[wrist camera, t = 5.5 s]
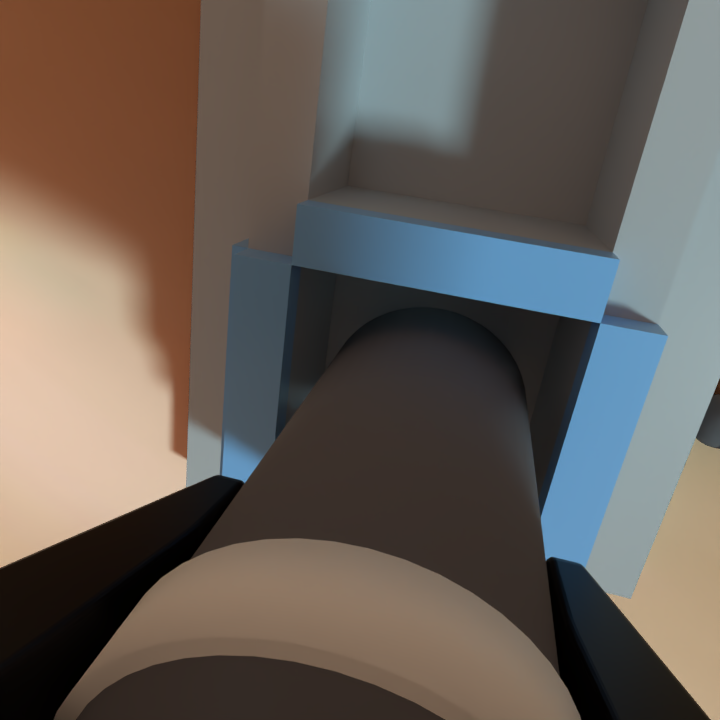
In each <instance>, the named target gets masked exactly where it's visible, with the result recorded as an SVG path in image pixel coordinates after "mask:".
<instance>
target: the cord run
mask: <svg viewBox="0 0 720 720" xmlns="http://www.w3.org/2000/svg"><path fill="white" fill-rule="evenodd" d="M696 438H697V439H698V440H699V441H700V442H702V443H704V444H705V445H707V446H710V447H714V448H718V449H720V394H716V395H713V396H712V399H711V401H710V404H709V406H708V408H707V411H706V413H705V416H704V418H703V421H702V423H701V426H700V428H699V431H698V433H697V436H696Z"/></svg>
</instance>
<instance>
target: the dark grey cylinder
mask: <svg viewBox="0 0 720 720" xmlns="http://www.w3.org/2000/svg"><path fill="white" fill-rule="evenodd" d="M54 720H581V717H580V715H579V712H578V710H577V708H576V706H575V704H574V702H573V699H572V697H571V695H570V693H569V691H568V689H567V687H566V686H565V684H564V683H563V681H562V680H561V678H560V674H559V666H558V657H557V649H556V641H555V633H554V624H553V616H552V608H551V599H550V591H549V583H548V575H547V566H546V558H545V550H544V542H543V533H542V525H541V517H540V508H539V500H538V492H537V484H536V475H535V467H534V459H533V451H532V442H531V434H530V426H529V418H528V409H527V401H526V393H525V386H524V382H523V378H522V375H521V373H520V370H519V368H518V365H517V363H516V361H515V360H514V358H513V356H512V355H511V353H510V352H509V350H508V349H507V348H506V347H505V345H504V344H503V343H502V342H501V341H500V340H499V339H498V338H497V337H496V336H495V335H494V334H493V333H492V332H491V331H489V330H488V329H487V328H485V327H484V326H482V325H481V324H479V323H478V322H476V321H474V320H472V319H470V318H468V317H466V316H463V315H461V314H458V313H456V312H452V311H448V310H444V309H439V308H431V307H412V308H404V309H399V310H395V311H391V312H388V313H386V314H383V315H381V316H378V317H376V318H374V319H373V320H371V321H369V322H367V323H366V324H364V325H363V326H362V327H360V328H359V329H358V330H357V331H355V332H354V333H353V334H352V336H351V337H350V338H349V339H348V340H347V341H346V342H345V344H344V345H343V346H342V348H341V349H340V351H339V352H338V353H337V355H336V356H335V358H334V359H333V360H332V362H331V363H330V365H329V366H328V367H327V369H326V370H325V372H324V373H323V374H322V376H321V377H320V379H319V380H318V381H317V383H316V384H315V386H314V387H313V388H312V390H311V391H310V393H309V394H308V395H307V397H306V398H305V400H304V401H303V402H302V404H301V405H300V407H299V408H298V409H297V411H296V412H295V414H294V415H293V416H292V418H291V419H290V421H289V422H288V423H287V425H286V426H285V428H284V429H283V430H282V432H281V433H280V435H279V436H278V437H277V439H276V440H275V442H274V443H273V444H272V446H271V447H270V449H269V450H268V451H267V453H266V454H265V456H264V457H263V458H262V460H261V461H260V463H259V464H258V465H257V467H256V468H255V470H254V471H253V472H252V474H251V475H250V477H249V478H248V479H247V481H246V482H245V484H244V485H243V486H242V488H241V489H240V491H239V492H238V493H237V495H236V496H235V498H234V499H233V500H232V502H231V503H230V505H229V506H228V507H227V509H226V510H225V512H224V513H223V514H222V516H221V517H220V519H219V520H218V521H217V523H216V524H215V526H214V527H213V528H212V530H211V531H210V533H209V534H208V535H207V537H206V538H205V540H204V541H203V542H202V544H201V545H200V547H199V548H198V549H197V551H196V552H195V554H194V555H193V556H192V558H191V559H190V560H189V561H186V562H184V563H182V564H181V565H179V566H178V567H176V568H175V569H173V570H172V571H170V572H169V573H168V574H166V575H165V576H163V577H162V578H161V579H160V580H159V581H158V582H157V583H156V584H154V585H153V586H152V587H151V588H150V589H149V590H148V591H147V592H146V593H145V594H144V596H143V597H142V598H141V600H140V601H139V602H138V604H137V605H136V606H135V608H134V609H133V610H132V612H131V613H130V614H129V616H128V617H127V618H126V619H125V621H124V622H123V623H122V625H121V626H120V627H119V629H118V630H117V631H116V633H115V634H114V635H113V637H112V638H111V639H110V641H109V642H108V643H107V644H106V646H105V647H104V648H103V650H102V651H101V652H100V654H99V655H98V656H97V658H96V659H95V660H94V662H93V663H92V664H91V666H90V667H89V668H88V669H87V671H86V672H85V673H84V675H83V676H82V677H81V679H80V680H79V681H78V683H77V684H76V685H75V687H74V688H73V689H72V691H71V692H70V693H69V695H68V696H67V698H66V699H65V700H64V702H63V703H62V705H61V706H60V708H59V709H58V710H57V713H56V715H55V717H54Z"/></svg>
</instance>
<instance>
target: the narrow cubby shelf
mask: <svg viewBox="0 0 720 720" xmlns="http://www.w3.org/2000/svg"><path fill="white" fill-rule="evenodd" d="M412 307H431V308H439V309H444V310H448V311H452V312H456V313H458V314H461V315H463V316H466V317H468V318H470V319H472V320H474V321H476V322H478V323H479V324H481V325H482V326H484V327H485V328H487V329H488V330H489V331H491V332H492V333H493V334H494V335H495V336H496V337H497V338H498V339H499V340H500V341H501V342H502V343H503V344H504V345H505V347H506V348H507V349H508V350H509V352H510V353H511V355H512V356H513V358H514V360H515V361H516V363H517V365H518V368H519V370H520V373H521V375H522V378H523V382H524V386H525V393H526V401H527V409H528V418H529V426H530V434H531V442H532V451H533V459H534V467H535V475H536V484H537V492H538V500H539V508H540V517H541V525H542V533H543V542H544V550H545V558H546V560H547V559H548V558H550V557H556V558H560V559H564V560H569V561H573V562H577V563H580V564H581V565H583V566H584V567H585V568H586V570H587V571H588V572H589V573H590V574H591V576H592V577H593V578H594V579H595V580H596V582H597V583H598V584H599V585H600V587H601V588H602V589H603V590H604V591H605V592H606V593H610V594H614V595H618V596H622V597H626V598H630V599H631V596H632V594H633V591H634V589H635V586H636V584H637V582H638V579H639V577H640V574H641V572H642V569H643V567H644V564H645V562H646V559H647V557H648V554H649V552H650V549H651V547H652V544H653V542H654V539H655V537H656V535H657V532H658V530H659V527H660V525H661V522H662V520H663V517H664V515H665V512H666V510H667V507H668V505H669V502H670V500H671V497H672V495H673V493H674V490H675V488H676V485H677V483H678V480H679V478H680V475H681V473H682V470H683V468H684V465H685V463H686V460H687V458H688V455H689V453H690V450H691V448H692V446H693V443H694V441H695V438H696V436H697V433H698V431H699V428H700V426H701V423H702V421H703V418H704V416H705V413H706V411H707V408H708V406H709V404H710V401H711V399H712V396H713V394H714V391H715V389H716V386H717V384H718V381H719V379H720V0H201V16H200V49H199V82H198V115H197V148H196V181H195V214H194V247H193V280H192V312H191V345H190V378H189V411H188V444H187V477H186V488H187V487H189V486H191V485H194V484H196V483H198V482H200V481H203V480H205V479H207V478H210V477H212V476H215V475H222V476H226V477H230V478H234V479H238V480H242V481H243V482H244V483H245V482H246V481H247V479H248V478H249V477H250V475H251V474H252V472H253V471H254V470H255V468H256V467H257V465H258V464H259V463H260V461H261V460H262V458H263V457H264V456H265V454H266V453H267V451H268V450H269V449H270V447H271V446H272V444H273V443H274V442H275V440H276V439H277V437H278V436H279V435H280V433H281V432H282V430H283V429H284V428H285V426H286V425H287V423H288V422H289V421H290V419H291V418H292V416H293V415H294V414H295V412H296V411H297V409H298V408H299V407H300V405H301V404H302V402H303V401H304V400H305V398H306V397H307V395H308V394H309V393H310V391H311V390H312V388H313V387H314V386H315V384H316V383H317V381H318V380H319V379H320V377H321V376H322V374H323V373H324V372H325V370H326V369H327V367H328V366H329V365H330V363H331V362H332V360H333V359H334V358H335V356H336V355H337V353H338V352H339V351H340V349H341V348H342V346H343V345H344V344H345V342H346V341H347V340H348V339H349V338H350V337H351V336H352V334H353V333H354V332H355V331H357V330H358V329H359V328H360V327H362V326H363V325H364V324H366V323H367V322H369V321H371V320H373V319H374V318H376V317H378V316H381V315H383V314H386V313H388V312H391V311H395V310H399V309H404V308H412Z"/></svg>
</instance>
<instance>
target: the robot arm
mask: <svg viewBox="0 0 720 720" xmlns="http://www.w3.org/2000/svg"><path fill="white" fill-rule="evenodd" d="M244 484H245V483H244V482H243V481H242V480H238V479H234V478H230V477H226V476H222V475H215V476H212V477H210V478H207V479H205V480H203V481H200V482H198V483H196V484H194V485H191V486H189V487H187V488H184V489H182V490H180V491H177V492H175V493H173V494H170V495H168V496H166V497H163V498H161V499H159V500H156V501H154V502H152V503H150V504H147V505H145V506H143V507H140V508H138V509H136V510H133V511H131V512H129V513H126V514H124V515H122V516H119V517H117V518H115V519H112V520H110V521H108V522H106V523H103V524H101V525H99V526H96V527H94V528H92V529H89V530H87V531H85V532H82V533H80V534H78V535H75V536H73V537H71V538H68V539H66V540H64V541H61V542H59V543H57V544H55V545H52V546H50V547H48V548H45V549H43V550H41V551H38V552H36V553H34V554H31V555H29V556H27V557H24V558H22V559H20V560H17V561H15V562H13V563H11V564H8V565H6V566H4V567H1V568H0V720H54V717H55V715H56V713H57V710H58V709H59V708H60V706H61V705H62V703H63V702H64V700H65V699H66V698H67V696H68V695H69V693H70V692H71V691H72V689H73V688H74V687H75V685H76V684H77V683H78V681H79V680H80V679H81V677H82V676H83V675H84V673H85V672H86V671H87V669H88V668H89V667H90V666H91V664H92V663H93V662H94V660H95V659H96V658H97V656H98V655H99V654H100V652H101V651H102V650H103V648H104V647H105V646H106V644H107V643H108V642H109V641H110V639H111V638H112V637H113V635H114V634H115V633H116V631H117V630H118V629H119V627H120V626H121V625H122V623H123V622H124V621H125V619H126V618H127V617H128V616H129V614H130V613H131V612H132V610H133V609H134V608H135V606H136V605H137V604H138V602H139V601H140V600H141V598H142V597H143V596H144V594H145V593H146V592H147V591H148V590H149V589H150V588H151V587H152V586H153V585H154V584H156V583H157V582H158V581H159V580H160V579H161V578H162V577H163V576H165V575H166V574H168V573H169V572H170V571H172V570H173V569H175V568H176V567H178V566H179V565H181V564H182V563H184V562H186V561H189V560H190V559H191V558H192V556H193V555H194V554H195V552H196V551H197V549H198V548H199V547H200V545H201V544H202V542H203V541H204V540H205V538H206V537H207V535H208V534H209V533H210V531H211V530H212V528H213V527H214V526H215V524H216V523H217V521H218V520H219V519H220V517H221V516H222V514H223V513H224V512H225V510H226V509H227V507H228V506H229V505H230V503H231V502H232V500H233V499H234V498H235V496H236V495H237V493H238V492H239V491H240V489H241V488H242V486H243V485H244ZM546 566H547V575H548V583H549V591H550V599H551V608H552V616H553V624H554V633H555V641H556V649H557V657H558V666H559V674H560V678H561V680H562V681H563V683H564V684H565V686H566V687H567V689H568V691H569V693H570V695H571V697H572V699H573V702H574V704H575V706H576V708H577V710H578V712H579V715H580V717H581V720H711V719H710V718H709V717H708V716H707V715H706V713H705V712H704V711H703V710H702V709H701V707H700V706H699V705H698V704H697V703H696V701H695V700H694V699H693V698H692V697H691V695H690V694H689V693H688V692H687V690H686V689H685V688H684V687H683V686H682V684H681V683H680V682H679V681H678V680H677V678H676V677H675V676H674V675H673V674H672V672H671V671H670V670H669V669H668V668H667V666H666V665H665V664H664V663H663V661H662V660H661V659H660V658H659V657H658V655H657V654H656V653H655V652H654V651H653V649H652V648H651V647H650V646H649V645H648V643H647V642H646V641H645V640H644V638H643V637H642V636H641V635H640V634H639V632H638V631H637V630H636V629H635V628H634V626H633V625H632V624H631V623H630V622H629V620H628V619H627V618H626V617H625V616H624V614H623V613H622V612H621V611H620V609H619V608H618V607H617V606H616V605H615V603H614V602H613V601H612V600H611V599H610V597H609V596H608V595H607V594H606V593H605V591H604V590H603V589H602V588H601V587H600V585H599V584H598V583H597V582H596V580H595V579H594V578H593V577H592V576H591V574H590V573H589V572H588V571H587V570H586V568H585V567H584V566H583V565H581V564H580V563H577V562H573V561H569V560H564V559H560V558H556V557H550V558H548V559H547V560H546Z"/></svg>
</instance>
